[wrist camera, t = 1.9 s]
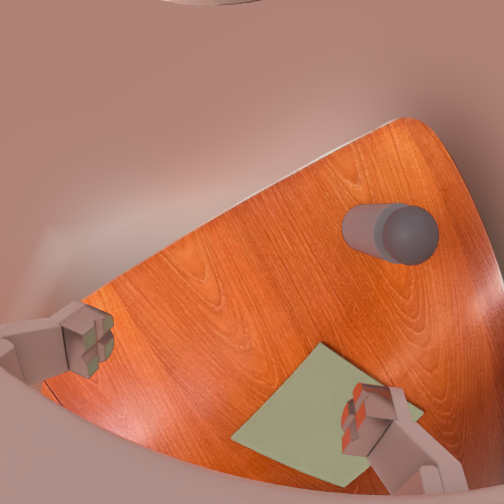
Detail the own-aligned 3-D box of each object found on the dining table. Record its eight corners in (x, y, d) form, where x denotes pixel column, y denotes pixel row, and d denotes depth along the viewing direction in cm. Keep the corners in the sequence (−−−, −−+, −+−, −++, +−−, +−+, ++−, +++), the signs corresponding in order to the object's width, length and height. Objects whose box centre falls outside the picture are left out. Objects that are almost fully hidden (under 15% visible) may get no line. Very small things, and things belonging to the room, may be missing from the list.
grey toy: (332, 232, 31) (383, 244, 19) (360, 194, 31) (421, 187, 19) (366, 260, 32) (427, 286, 20) (392, 224, 31) (461, 232, 19)
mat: (230, 436, 34) (230, 438, 33) (320, 341, 33) (321, 343, 32) (343, 485, 36) (344, 487, 35) (422, 411, 35) (424, 412, 34)
